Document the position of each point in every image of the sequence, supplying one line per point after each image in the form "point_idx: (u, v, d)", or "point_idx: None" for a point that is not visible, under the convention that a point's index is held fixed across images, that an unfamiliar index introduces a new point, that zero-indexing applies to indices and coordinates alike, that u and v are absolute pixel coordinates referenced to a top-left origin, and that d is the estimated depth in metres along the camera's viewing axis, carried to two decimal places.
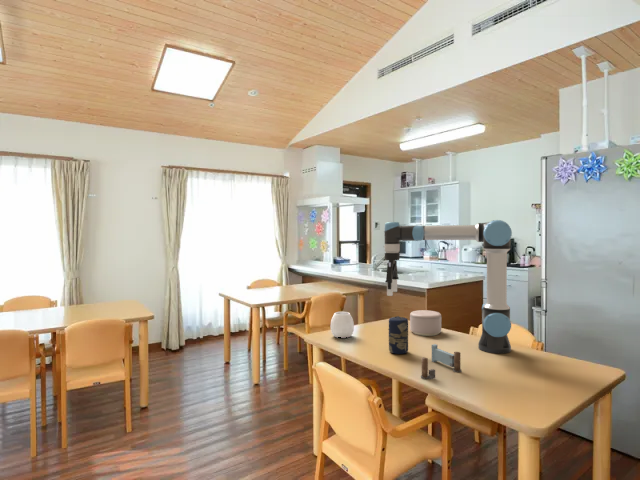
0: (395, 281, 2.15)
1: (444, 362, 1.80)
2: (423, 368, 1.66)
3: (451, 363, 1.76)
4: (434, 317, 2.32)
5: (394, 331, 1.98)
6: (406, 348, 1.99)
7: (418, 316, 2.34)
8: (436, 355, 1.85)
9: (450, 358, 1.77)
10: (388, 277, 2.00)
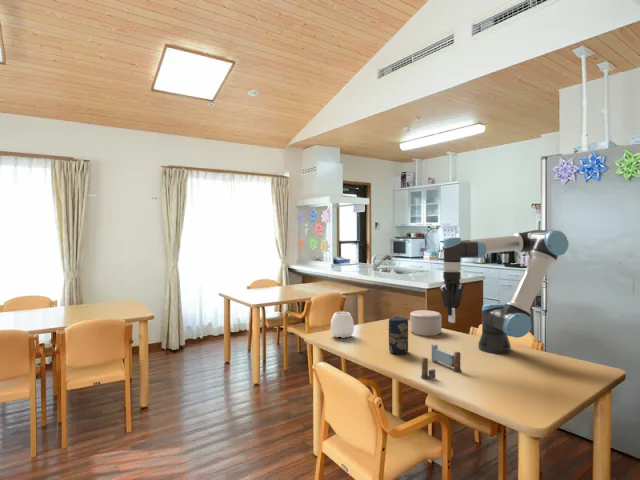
0: None
1: (444, 362, 1.80)
2: (423, 368, 1.66)
3: (451, 363, 1.76)
4: (434, 317, 2.32)
5: (394, 331, 1.98)
6: (406, 348, 1.99)
7: (418, 316, 2.34)
8: (436, 355, 1.85)
9: (450, 358, 1.77)
10: (444, 303, 1.86)
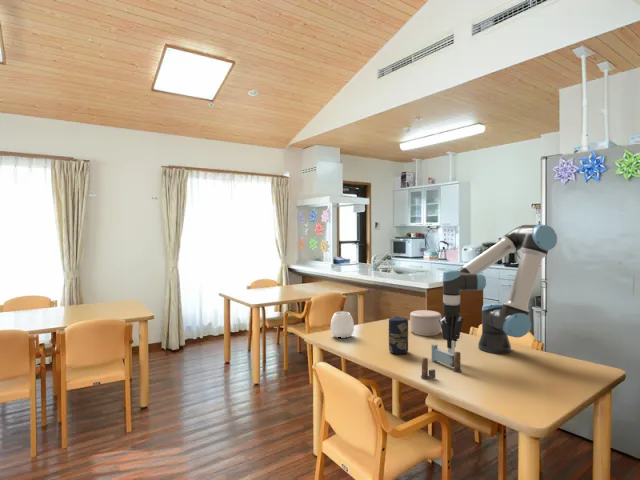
0: None
1: (444, 362, 1.80)
2: (423, 368, 1.66)
3: (451, 363, 1.76)
4: (434, 317, 2.32)
5: (394, 331, 1.98)
6: (406, 348, 1.99)
7: (418, 316, 2.34)
8: (436, 355, 1.85)
9: (450, 358, 1.77)
10: (444, 336, 1.86)
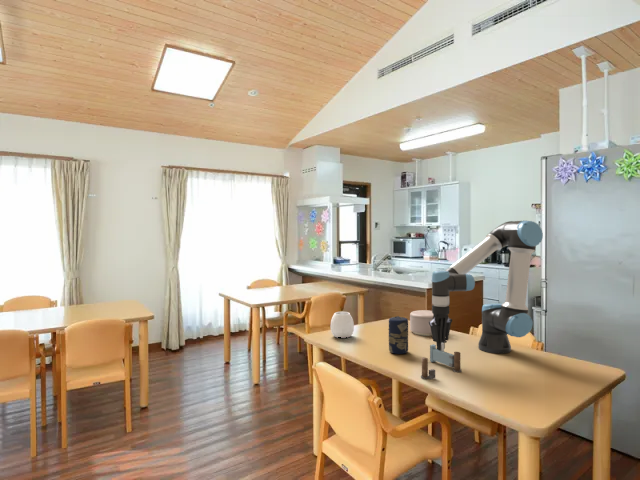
0: None
1: (443, 362, 1.80)
2: (423, 368, 1.66)
3: (451, 363, 1.76)
4: None
5: (394, 331, 1.98)
6: (406, 348, 1.99)
7: (418, 316, 2.34)
8: (435, 355, 1.85)
9: (450, 358, 1.77)
10: (434, 338, 1.83)
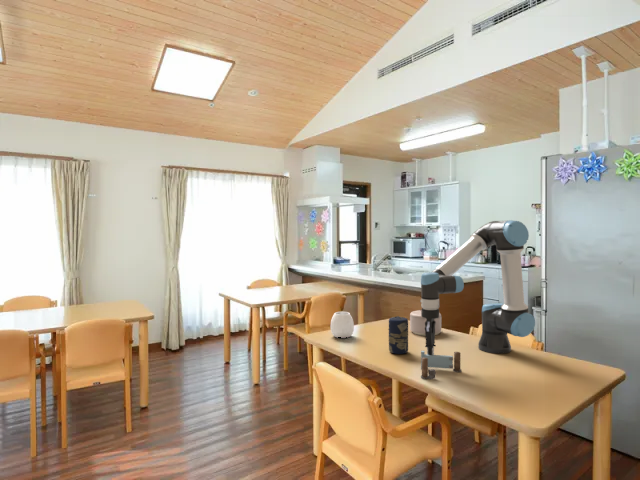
0: None
1: (440, 366, 1.75)
2: (423, 368, 1.66)
3: (451, 365, 1.74)
4: None
5: (394, 331, 1.98)
6: (406, 348, 1.99)
7: (418, 316, 2.34)
8: (428, 361, 1.76)
9: (450, 360, 1.74)
10: (428, 343, 1.75)
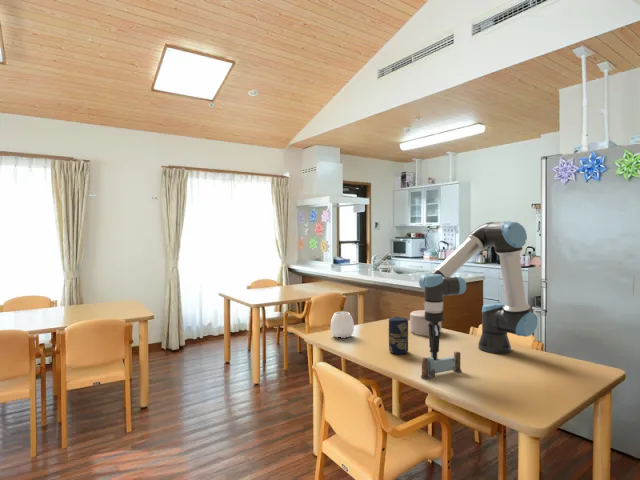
0: None
1: (446, 369, 1.71)
2: (423, 368, 1.66)
3: (454, 366, 1.73)
4: None
5: (394, 331, 1.98)
6: (406, 348, 1.99)
7: (418, 316, 2.34)
8: (436, 367, 1.69)
9: (453, 361, 1.72)
10: (435, 348, 1.68)
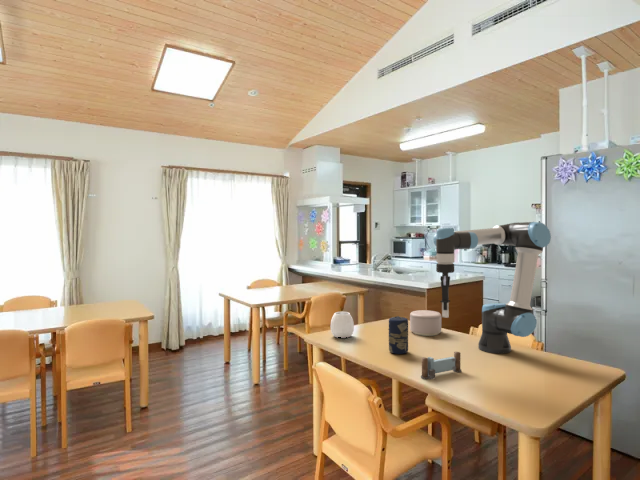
0: None
1: (446, 369, 1.71)
2: (423, 368, 1.66)
3: (454, 366, 1.73)
4: (434, 317, 2.32)
5: (394, 331, 1.98)
6: (406, 348, 1.99)
7: (418, 316, 2.34)
8: (436, 367, 1.69)
9: (453, 361, 1.72)
10: (444, 297, 1.75)
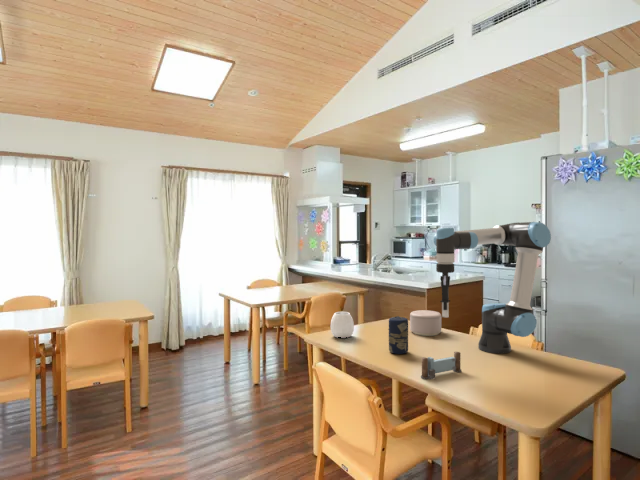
0: None
1: (446, 369, 1.71)
2: (423, 368, 1.66)
3: (454, 366, 1.73)
4: (434, 317, 2.32)
5: (394, 331, 1.98)
6: (406, 348, 1.99)
7: (418, 316, 2.34)
8: (436, 367, 1.69)
9: (453, 361, 1.72)
10: (444, 297, 1.75)
